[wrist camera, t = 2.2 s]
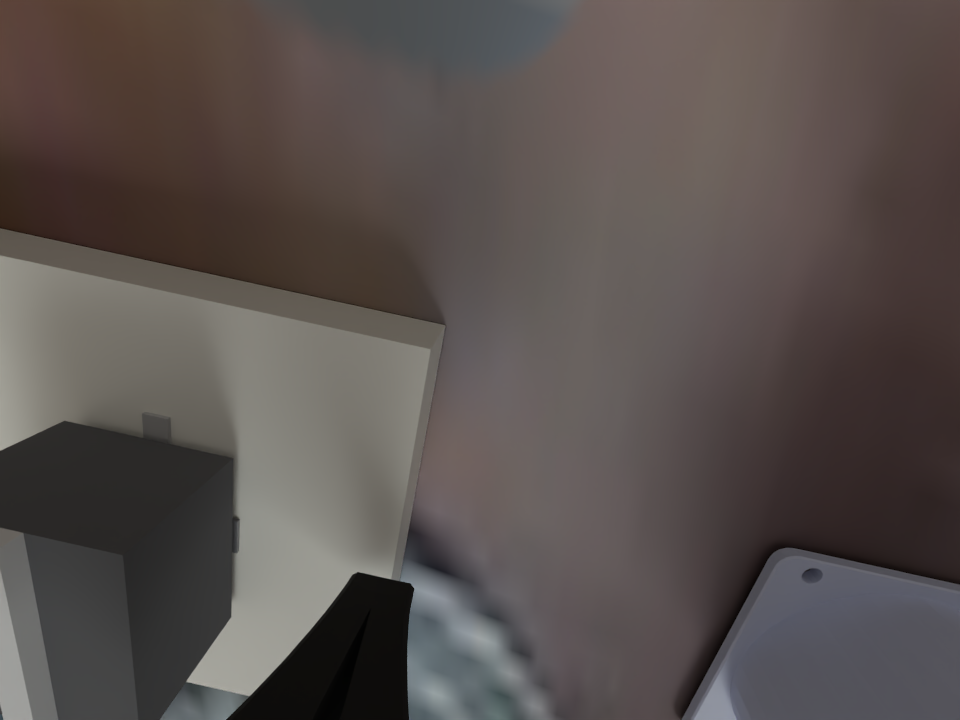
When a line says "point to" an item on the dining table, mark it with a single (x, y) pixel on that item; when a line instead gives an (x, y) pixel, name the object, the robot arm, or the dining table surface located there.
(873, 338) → the dining table surface
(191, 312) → the control panel
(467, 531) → the dining table surface
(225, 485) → the block
